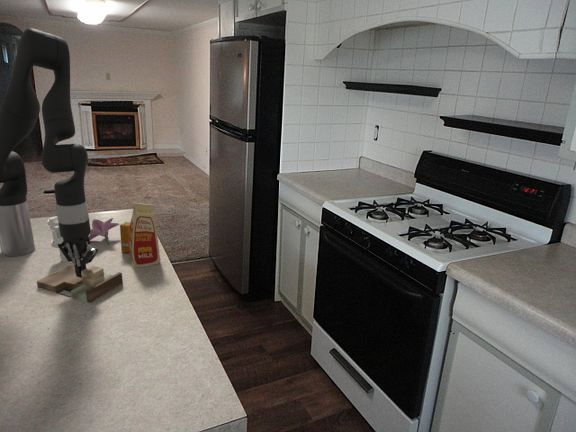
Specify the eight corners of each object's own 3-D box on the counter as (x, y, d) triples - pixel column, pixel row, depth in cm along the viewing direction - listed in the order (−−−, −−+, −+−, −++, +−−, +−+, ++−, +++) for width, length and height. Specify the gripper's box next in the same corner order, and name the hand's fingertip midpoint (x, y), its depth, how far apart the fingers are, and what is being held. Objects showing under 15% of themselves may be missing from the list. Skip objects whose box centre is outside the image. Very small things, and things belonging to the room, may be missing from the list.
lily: (126, 239, 158) (116, 215, 158) (122, 238, 147) (111, 212, 147) (94, 252, 155) (83, 228, 155) (87, 252, 144) (76, 226, 144)
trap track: (37, 287, 120) (35, 276, 118) (72, 270, 130) (71, 260, 129) (90, 302, 113) (88, 291, 112) (122, 283, 123) (121, 272, 122)
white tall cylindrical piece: (48, 261, 136) (41, 217, 131) (67, 253, 142) (60, 210, 137) (65, 265, 133) (58, 220, 128) (83, 257, 139) (77, 214, 135)
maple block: (82, 284, 118) (80, 271, 117) (94, 278, 122) (92, 265, 120) (93, 287, 117) (92, 274, 115) (104, 281, 120) (103, 268, 119)
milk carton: (133, 268, 133) (128, 207, 127) (129, 257, 141) (123, 199, 135) (163, 263, 137) (159, 203, 131) (157, 252, 145) (153, 196, 139)
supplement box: (130, 253, 143) (128, 225, 140) (121, 252, 144) (118, 224, 141) (135, 249, 146) (133, 222, 143) (126, 248, 147) (124, 221, 144)
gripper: (43, 218, 114) (53, 277, 119) (80, 226, 109) (88, 286, 114) (67, 211, 120) (75, 266, 126) (103, 218, 116) (109, 275, 121)
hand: (81, 276), depth 120 cm, fingers closed
